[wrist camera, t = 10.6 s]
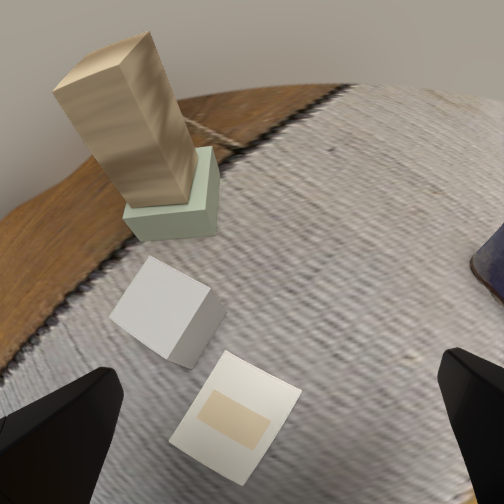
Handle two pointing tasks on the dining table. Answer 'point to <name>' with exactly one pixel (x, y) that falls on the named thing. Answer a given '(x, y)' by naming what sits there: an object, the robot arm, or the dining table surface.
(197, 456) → the card
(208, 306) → the grey cube
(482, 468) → the robot arm
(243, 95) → the dining table surface
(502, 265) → the flask
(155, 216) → the sage base block
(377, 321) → the dining table surface
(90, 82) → the maple pillar
